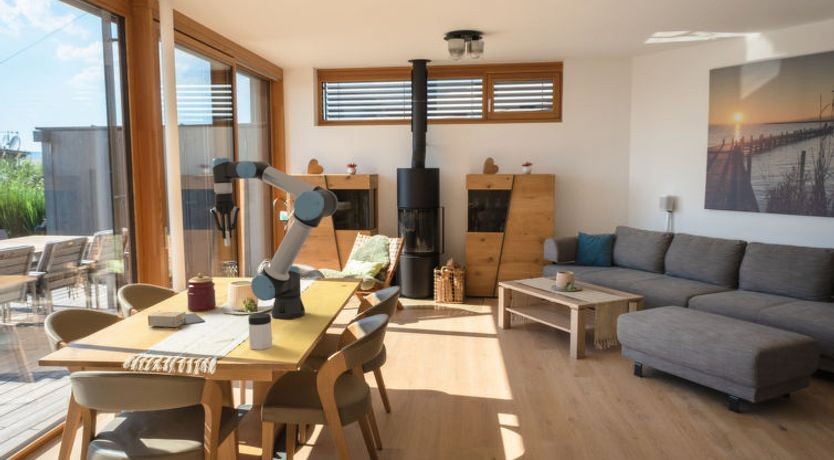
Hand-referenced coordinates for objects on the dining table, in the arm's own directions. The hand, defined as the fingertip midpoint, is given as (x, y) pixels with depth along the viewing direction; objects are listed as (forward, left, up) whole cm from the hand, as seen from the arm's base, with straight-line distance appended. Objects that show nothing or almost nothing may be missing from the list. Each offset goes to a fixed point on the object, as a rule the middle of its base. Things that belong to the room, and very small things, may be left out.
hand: (227, 245), depth 261 cm
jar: (-50, +4, -33) cm, 60 cm away
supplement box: (+9, +31, -30) cm, 44 cm away
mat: (+10, +20, -33) cm, 40 cm away
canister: (+28, +6, -33) cm, 44 cm away
